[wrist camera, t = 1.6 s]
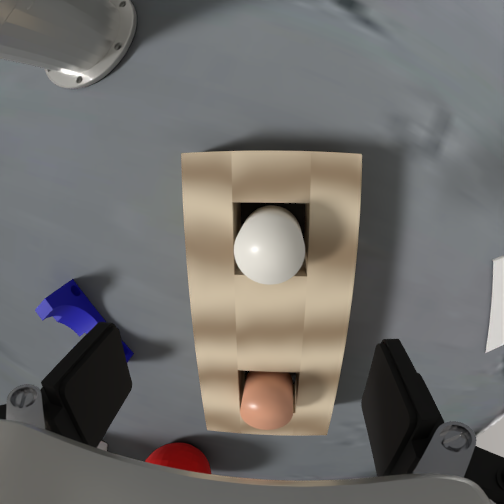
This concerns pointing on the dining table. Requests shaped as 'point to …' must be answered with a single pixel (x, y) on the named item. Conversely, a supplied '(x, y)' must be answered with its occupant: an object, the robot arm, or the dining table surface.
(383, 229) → the dining table surface
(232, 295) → the housing
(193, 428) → the dining table surface
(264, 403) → the peach rounded piece
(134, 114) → the dining table surface
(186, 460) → the tomato
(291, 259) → the white domed cylinder
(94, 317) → the cable clip
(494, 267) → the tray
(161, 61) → the dining table surface
